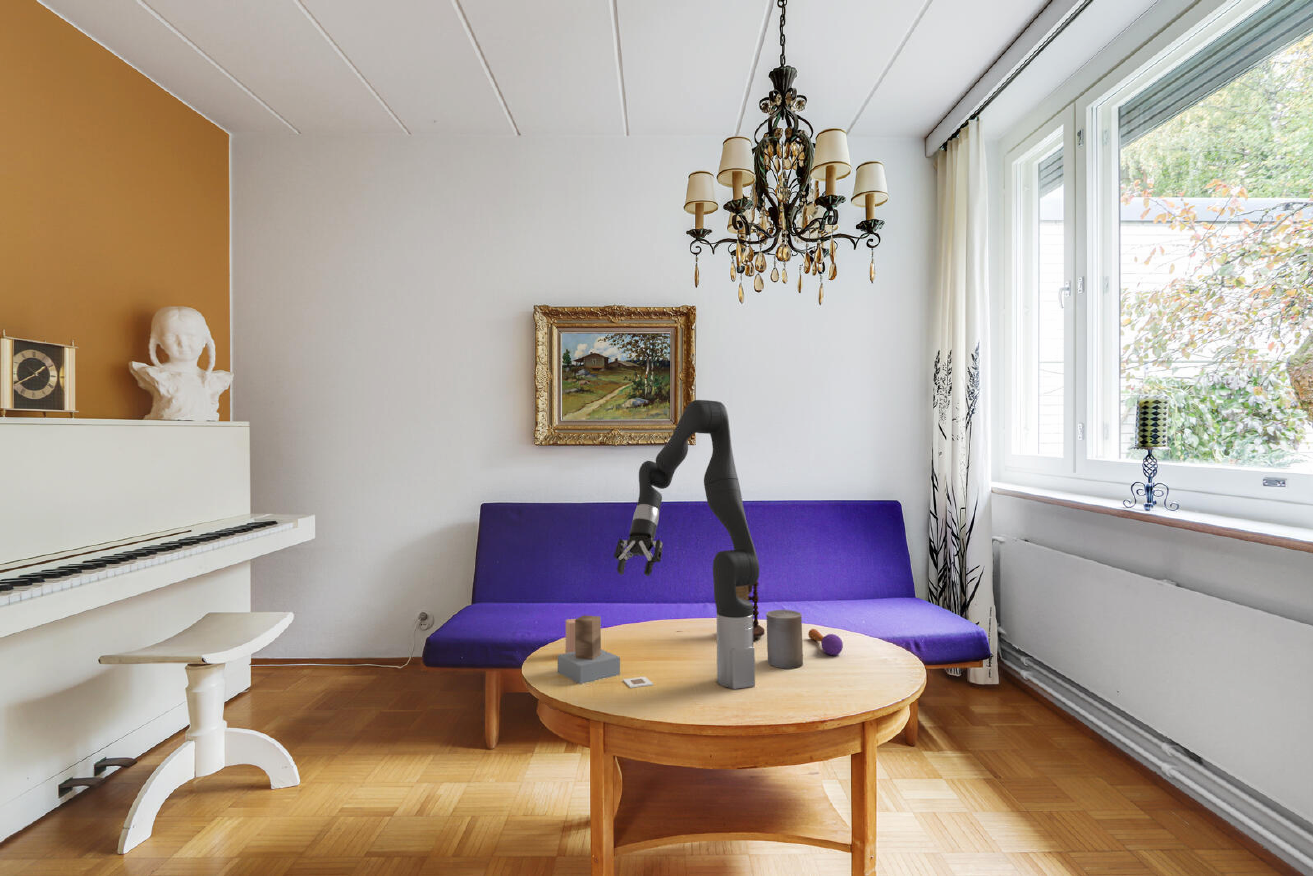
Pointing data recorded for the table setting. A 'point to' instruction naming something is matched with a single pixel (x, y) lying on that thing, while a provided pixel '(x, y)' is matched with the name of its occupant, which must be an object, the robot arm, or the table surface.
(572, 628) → the terracotta block
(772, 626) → the pillar candle
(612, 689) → the table surface
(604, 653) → the slate slab
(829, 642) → the purple maraca
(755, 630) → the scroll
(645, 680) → the card
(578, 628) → the walnut block
